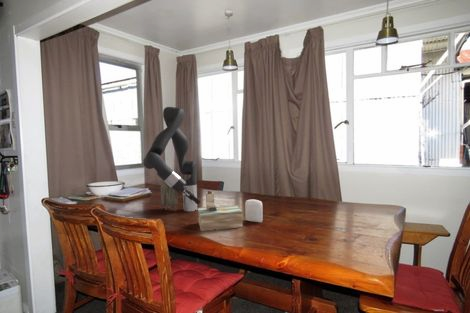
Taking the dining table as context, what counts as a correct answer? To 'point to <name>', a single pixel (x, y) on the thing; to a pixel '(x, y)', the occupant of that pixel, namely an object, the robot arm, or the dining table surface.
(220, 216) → the rectangular block
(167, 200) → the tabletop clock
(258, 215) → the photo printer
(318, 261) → the dining table surface
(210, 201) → the wooden knobbed block
